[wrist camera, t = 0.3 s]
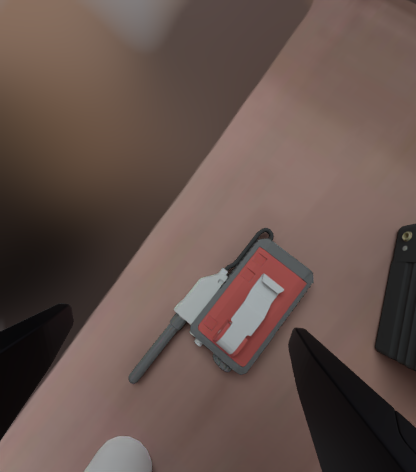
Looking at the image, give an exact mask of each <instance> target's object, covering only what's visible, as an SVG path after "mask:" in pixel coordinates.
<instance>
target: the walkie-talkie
mask: <svg viewBox="0 0 416 472" xmlns="http://www.w3.org/2000/svg"><path fill="white" fill-rule="evenodd" d="M264 232H266V233H268V235H269V238H267V239H261V240H257V239H258V237H259V236H260V235H261V234H262V233H264ZM273 237H274V236H273V232H272V231H271V230H270V229H268V228H263V229H261V230H260V231H258V232H257V234H256V235H255V236H254V237H253V239H252V240H251V241H250V242H249V244H248V245H247V246H246V248H245V249H244V250H243V251H242V253H241V254H240V255H239V256H238V258H237V259H236V260H235V261H234V262H233V263H232V264H230V265H228V266H226V267H225V268H222V269H221V270H220V272H219V273H218V274H214V275H210V276H207V277H203V278H200V279H199V281H198V282H197V283H196V284H195V286H194V287H193V288H192V289H191V291H190V292H189V293H188V294H187V296H186V297H185V298H184V299H183V300H182V301H180V302H179V303H178V304H177V306H176V307H175V308H174V311H175V312H176V314H175V315H174V317H173V318H172V319H171V321H170V324H169V325H168V327H167V328H166V329H165V330H164V332H163V333H162V334H161V335H160V337H159V338H158V339H157V340H156V342H155V343H154V344H153V346H152V347H151V348H150V349H149V351H148V352H147V353H146V354H145V356H144V357H143V358H142V359H141V361H140V362H139V363H138V364H137V366H136V367H135V368H134V370H133V371H132V372H131V373H130V375H129V382H130V383H132V384H135V383H136V382H138V380H139V379H140V378H141V377H142V375H143V374H144V373H145V371H146V370H147V369H148V368H149V366H150V365H151V364H152V363H153V361H154V360H155V359H156V357H157V356H158V355H159V354H160V352H161V351H162V350H163V348H164V347H165V346H166V345H167V343H168V342H169V341H170V340H171V338H172V337H173V336H174V334H175V333H176V332H177V331H178V330H180V329H181V328H182V327H183V326H184V324H185V323H186V322H188V323H189V324H190V325H191V329H190V333H191V335H192V336H194V337H196V339H195V340H194V341H195V343H196V344H197V345H198V346H202V344H204V345H205V346H206V347H207V348H208V349H210V350H211V351H212V352H213V353H214V354H213V359H214V361H215V363H216V364H217V365H218V366H219V367H220V368H221V369H222V370H223V371H225V372H230V371H231V370H232V369H233V370H234V371H235V372H237V373H238V374H240V375H242V374H245V373H247V371H248V370H249V369H250V367H251V366H252V365H253V363H254V362H255V361H256V359H257V358H258V357H259V355H260V354H261V353H262V351H263V350H264V349H265V347H266V346H267V345H268V343H269V342H270V341H271V339H272V338H273V337H274V335H275V332H276V331H278V330H279V327H280V326H282V323H283V322H284V321H285V320H286V318H287V316H289V314H290V312H291V311H293V308H294V307H296V306H297V305H296V304H297V303H298V302H300V299H301V297H303V295H304V293H305V292H307V289H308V288H310V287H311V286H310V285H311V284H312V283H313V272H312V271H311V270H309V269H308V268H307V267H306V266H304V265H303V264H302V263H300V262H299V261H298V260H296V259H295V258H294V257H292V256H291V255H290V254H289V253H287V252H286V251H285V250H283V249H282V248H281V247H279V246H278V245H277V244H276V243H274V242H273V241H272V240H273ZM256 240H257V241H256ZM247 251H248V252H247ZM240 260H241V261H240ZM236 265H237V266H236ZM233 267H235V268H234V269H233V270H232V272H231V273H230V274H228V276H227V275H226V274H227V273H228V270H229V269H230V268H233Z"/></svg>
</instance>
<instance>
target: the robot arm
mask: <svg viewBox="0 0 416 472" xmlns="http://www.w3.org/2000/svg"><path fill="white" fill-rule="evenodd" d="M73 322H74V319H73V313H72V307H71V305H69V304H62V303H61V304H57V305H55V306H53V307H51V308H49V309H47V310H44V311H42V312H40V313H38V314H36V315H34V316H32V317H30V318H28V319H26V320H24V321H21V322H19V323H17V324H15V325H13V326H11V327H9V328H7V329H5V330H3V331H0V441H1V439H2V438H3V436H4V435H5V433H6V432H7V430H8V429H9V427H10V426H11V424H12V423H13V421H14V420H15V418H16V417H17V415H18V414H19V412H20V411H21V409H22V408H23V406H24V405H25V403H26V402H27V400H28V399H29V397H30V396H31V394H32V393H33V391H34V390H35V388H36V387H37V385H38V384H39V382H40V381H41V379H42V378H43V376H44V375H45V373H46V372H47V370H48V369H49V367H50V366H51V364H52V362H53V361H54V359H55V357H56V355H57V353H58V352H59V350H60V348H61V346H62V344H63V342H64V341H65V339H66V337H67V335H68V333H69V331H70V329H71V328H72V326H73ZM288 347H289V353H290V358H291V363H292V368H293V372H294V377H295V382H296V387H297V391H298V394H299V398H300V401H301V404H302V407H303V411H304V414H305V417H306V420H307V424H308V427H309V430H310V433H311V437H312V440H313V443H314V446H315V449H316V453H317V456H318V459H319V462H320V466H321V469H322V472H416V428H415V427H414V426H413V425H412V424H411V423H410V422H409V421H407V420H406V419H405V418H404V417H403V416H402V415H401V414H400V413H399V412H397V411H395V410H394V408H393V407H392V406H391V405H389V404H388V403H387V402H386V401H385V400H384V399H383V398H382V397H381V396H379V395H378V394H377V393H376V392H375V391H374V390H373V389H372V388H370V387H369V386H368V385H367V384H366V383H365V382H364V381H363V380H362V379H360V378H359V377H358V376H357V375H356V374H355V373H354V372H353V371H351V370H350V369H349V368H348V367H347V366H346V365H345V364H344V363H342V362H341V361H340V360H339V359H338V358H337V357H336V356H335V355H334V354H332V353H331V352H330V351H329V350H328V349H327V348H326V347H325V346H323V345H322V344H321V343H320V342H319V341H318V340H317V339H316V338H315V337H313V336H312V335H311V334H310V333H309V332H308V331H307V330H305V329H303V328H294V329H293V331H292V334H291V337H290V340H289V344H288Z"/></svg>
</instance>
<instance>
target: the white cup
mask: <svg viewBox="0 0 416 472" xmlns="http://www.w3.org/2000/svg"><path fill="white" fill-rule="evenodd" d="M84 472H152V461H151V458H150V456H149V453H148V450H147V449H146V448H145V447H144V446H143V444H142V443H141V442H140V441H138V440H136V439H134V438H132V437H130V436H117V437H115V438H112V439H110V440H108V441H107V442H106V443H105V444H104V445H103V446H102V447H101V448H100V449H99V450H98V452H97V453H96V455H95V456H94V458H93V459H92V460H91V462H90V463H89V465H88V466H87V468H86V469H85V471H84Z"/></svg>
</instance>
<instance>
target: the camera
mask: <svg viewBox="0 0 416 472" xmlns="http://www.w3.org/2000/svg"><path fill="white" fill-rule="evenodd" d="M375 348H376V350H377V351H378V352H380V353H382V354H384V355H386V356H388V357H389V358H391V359H394V360H396V361H398V362H399V363H401V364H403V365H405V366H407V367H408V368H410V369H413V370H414V371H416V224H412V225H407V226H403V227H401V228H400V229H399V232H398V237H397V243H396V248H395V253H394V258H393V262H392V263H391V268H390V273H389V279H388V284H387V289H386V294H385V299H384V305H383V310H382V315H381V320H380V325H379V330H378V336H377V341H376V346H375Z"/></svg>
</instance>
